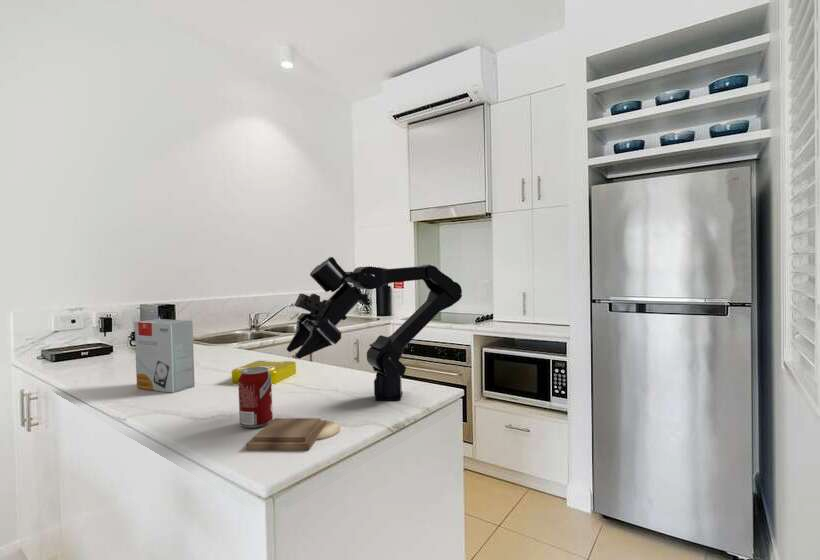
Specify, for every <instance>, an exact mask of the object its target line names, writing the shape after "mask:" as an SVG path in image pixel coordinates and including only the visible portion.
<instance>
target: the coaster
mask: <svg viewBox="0 0 820 560" xmlns="http://www.w3.org/2000/svg"><path fill="white" fill-rule="evenodd" d="M339 432H341V425H340V424H339V423H338V422H335V421H332V420H331V421H330V420H327V424H326V425H325V427H324V428H323V429H322V431H321V432H320V433H319V435H318V436H317V437H316V438H317V440H316V441H319V440H326V439H329V438H332V437H334V436H336V435H337V434H338V433H339Z"/></svg>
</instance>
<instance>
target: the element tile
mask: <svg viewBox="0 0 820 560" xmlns="http://www.w3.org/2000/svg"><path fill="white" fill-rule="evenodd" d="M252 367H266V368H268V372H269V374H270V375H271V385H272V384H275V385H277V384H276V383H278V382H280V381H282V380H284V379H286V378H288V377H290V376H292V375H294V374H296V375H297V363H296V361H290V360H289V361H288V360H287V361H285V360H256V361H254V362H251V363H250V362H249V363H247V364H245V365H242V366H240V367H236V368H235V369H232V370H231V384H233V385H238V379H239V378H240V376H241V374H242V373H241V371H242V370H244V369H247V368H252ZM294 376H295V375H294ZM292 377H293V376H292ZM290 378H291V377H290ZM288 379H289V378H288ZM286 380H287V379H286ZM284 381H285V380H284ZM282 382H283V381H282ZM280 383H281V382H280ZM278 384H279V383H278ZM272 386H273V385H272Z"/></svg>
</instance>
